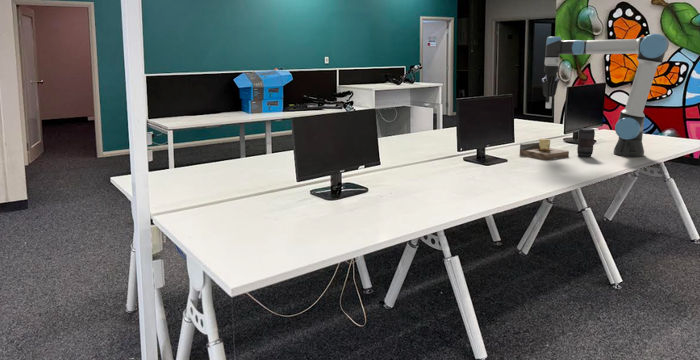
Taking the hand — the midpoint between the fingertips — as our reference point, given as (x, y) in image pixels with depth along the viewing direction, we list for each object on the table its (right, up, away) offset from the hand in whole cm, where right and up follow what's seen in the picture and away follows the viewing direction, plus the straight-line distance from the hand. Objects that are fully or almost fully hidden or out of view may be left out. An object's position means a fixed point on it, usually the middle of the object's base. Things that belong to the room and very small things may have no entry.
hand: (548, 108), depth 314 cm
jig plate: (-6, -27, -9) cm, 29 cm away
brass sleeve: (-6, -27, -9) cm, 29 cm away
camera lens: (+15, -28, -11) cm, 34 cm away
